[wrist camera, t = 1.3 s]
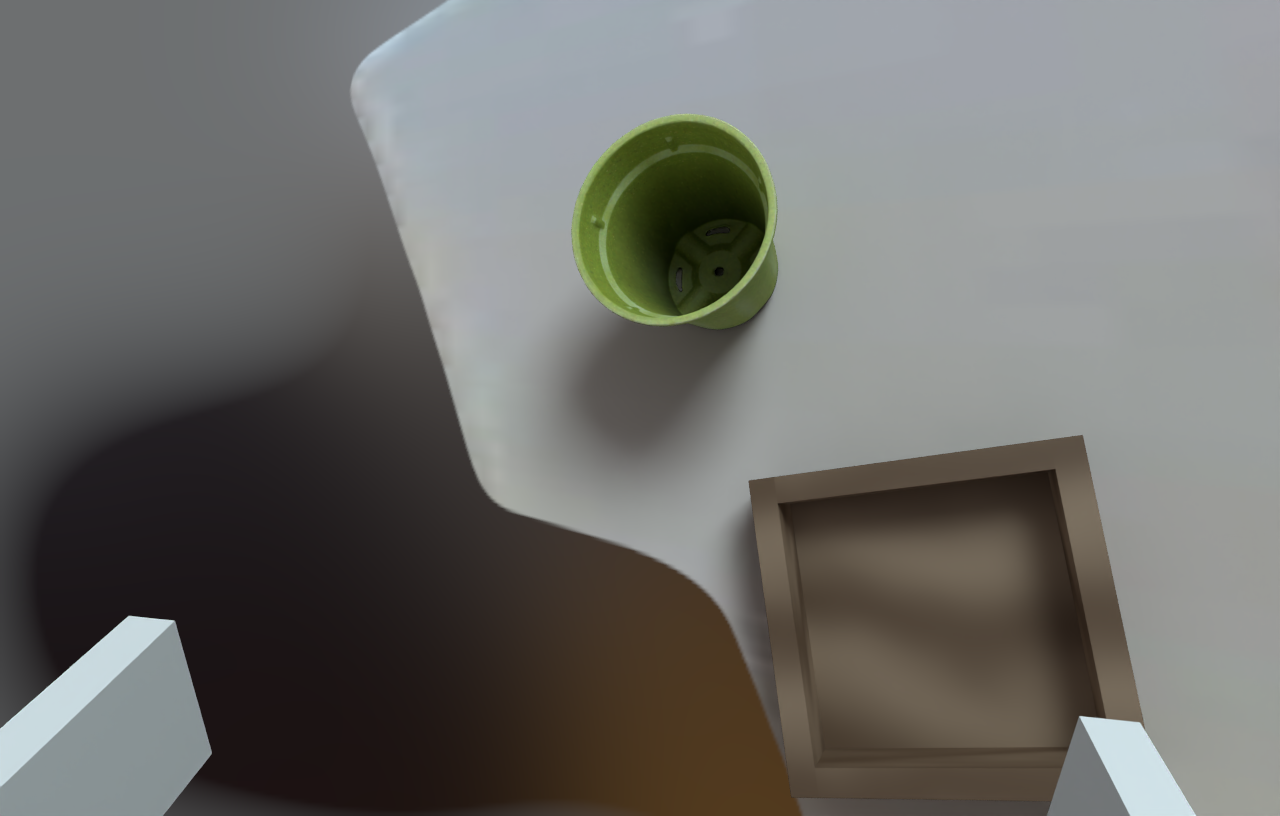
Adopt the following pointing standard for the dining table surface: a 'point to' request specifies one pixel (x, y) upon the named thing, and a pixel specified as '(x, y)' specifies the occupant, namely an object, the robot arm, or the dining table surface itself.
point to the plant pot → (678, 225)
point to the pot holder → (940, 622)
